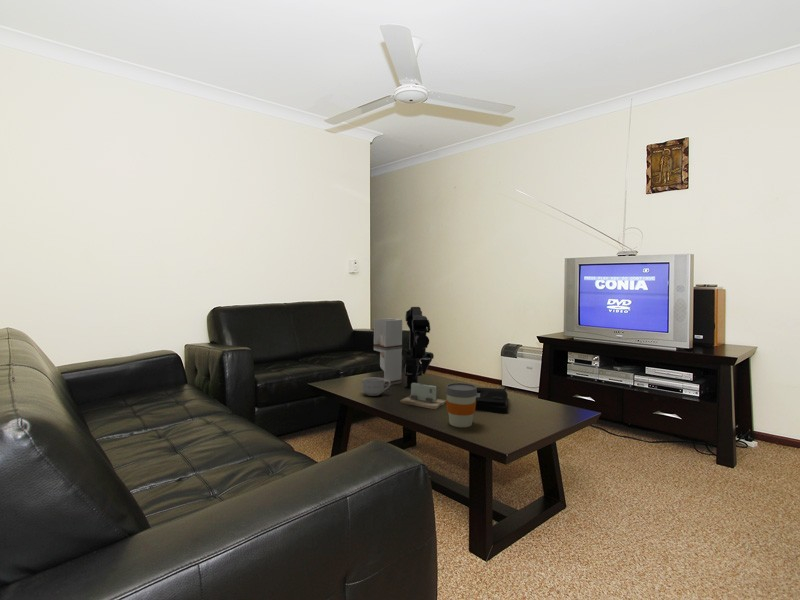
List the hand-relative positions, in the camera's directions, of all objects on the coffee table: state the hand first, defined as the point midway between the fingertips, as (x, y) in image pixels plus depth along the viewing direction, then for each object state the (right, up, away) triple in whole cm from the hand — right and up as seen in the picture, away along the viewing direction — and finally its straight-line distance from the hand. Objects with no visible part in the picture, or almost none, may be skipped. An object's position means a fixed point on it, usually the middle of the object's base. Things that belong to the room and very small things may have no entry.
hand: (419, 375), depth 208 cm
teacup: (-21, -11, +8) cm, 25 cm away
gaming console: (+31, -13, -5) cm, 34 cm away
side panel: (+2, -12, -5) cm, 13 cm away
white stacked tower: (-16, -10, +33) cm, 38 cm away
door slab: (+2, -10, -5) cm, 11 cm away
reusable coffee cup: (+15, -14, -33) cm, 38 cm away
